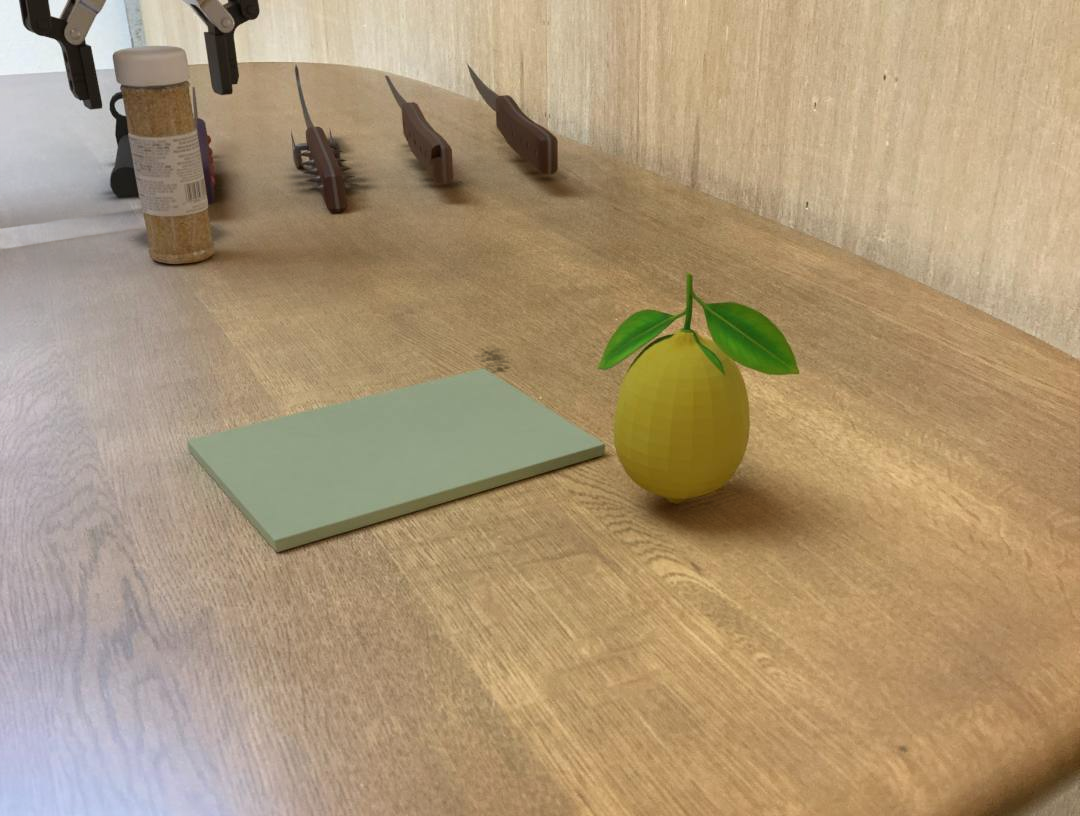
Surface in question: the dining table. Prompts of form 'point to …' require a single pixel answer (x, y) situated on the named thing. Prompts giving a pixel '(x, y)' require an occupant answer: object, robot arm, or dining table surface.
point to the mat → (387, 455)
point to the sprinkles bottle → (165, 152)
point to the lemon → (690, 394)
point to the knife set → (326, 154)
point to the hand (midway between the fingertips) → (159, 100)
